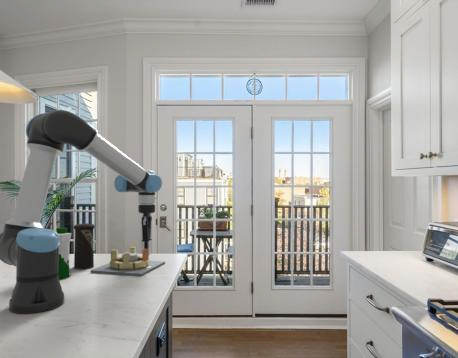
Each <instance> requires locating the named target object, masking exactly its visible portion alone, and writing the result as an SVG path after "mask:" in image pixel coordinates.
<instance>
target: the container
mask: <svg viewBox="0 0 458 358" xmlns="http://www.w3.org/2000/svg"><path fill="white" fill-rule="evenodd" d="M95 227H96V225H95V224H93V223H76V224H75V225H73V229H74V255H73V257H74V259H73V261H74V262H73V267H74V269H77V270H85V269H86V270H87V269H91V268H93V267H95V266H94V265H95V260H94V259H95V258H94V256H95V255H94V253H95V251H94V248H95V247H94V244H95V243H94V229H95Z"/></svg>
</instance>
